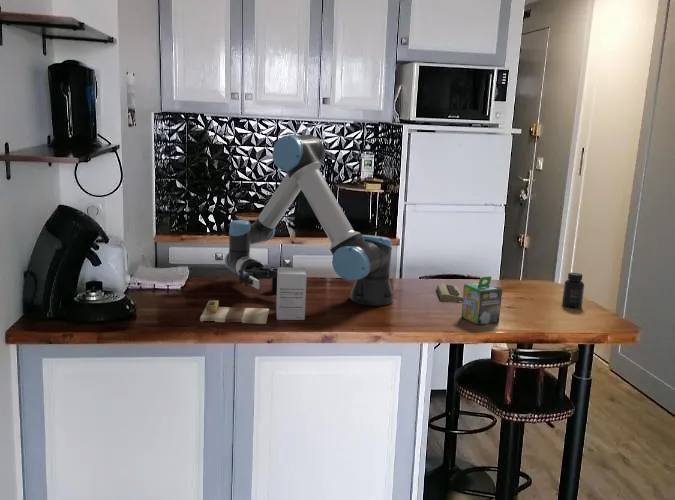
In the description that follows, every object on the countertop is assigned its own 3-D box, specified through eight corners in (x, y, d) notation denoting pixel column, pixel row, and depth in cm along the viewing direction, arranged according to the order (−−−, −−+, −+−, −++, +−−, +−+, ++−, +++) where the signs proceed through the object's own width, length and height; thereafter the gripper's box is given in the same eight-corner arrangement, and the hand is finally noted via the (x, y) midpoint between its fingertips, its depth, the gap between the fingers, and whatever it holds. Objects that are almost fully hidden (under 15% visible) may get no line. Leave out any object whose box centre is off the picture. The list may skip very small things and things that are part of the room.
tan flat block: (463, 303, 234) (464, 294, 233) (440, 302, 234) (441, 293, 233) (457, 292, 249) (458, 283, 249) (436, 291, 250) (436, 282, 249)
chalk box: (481, 314, 220) (486, 271, 217) (500, 322, 212) (504, 278, 209) (459, 317, 215) (463, 273, 212) (477, 325, 207) (482, 280, 204)
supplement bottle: (584, 306, 236) (588, 274, 234) (577, 310, 231) (581, 277, 229) (566, 302, 240) (570, 270, 238) (558, 305, 236) (562, 273, 233)
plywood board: (268, 312, 210) (269, 300, 210) (266, 323, 199) (266, 311, 198) (206, 309, 209) (206, 298, 209) (200, 321, 198) (200, 309, 197)
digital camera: (284, 294, 232) (284, 275, 231) (271, 291, 235) (272, 273, 234) (300, 289, 241) (301, 270, 240) (288, 286, 244) (289, 268, 242)
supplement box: (275, 311, 212) (277, 266, 209) (303, 311, 213) (305, 267, 210) (276, 320, 203) (277, 273, 200) (305, 320, 204) (306, 273, 201)
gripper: (281, 276, 239) (309, 290, 221) (216, 282, 226) (241, 297, 208) (281, 256, 237) (310, 268, 220) (217, 261, 224) (242, 275, 207)
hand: (277, 282), depth 214 cm, fingers open, 13 cm apart
